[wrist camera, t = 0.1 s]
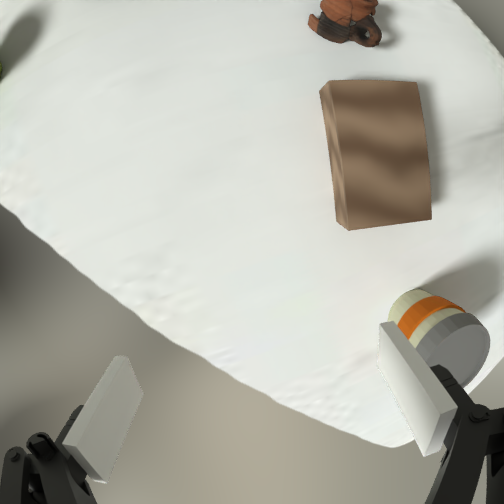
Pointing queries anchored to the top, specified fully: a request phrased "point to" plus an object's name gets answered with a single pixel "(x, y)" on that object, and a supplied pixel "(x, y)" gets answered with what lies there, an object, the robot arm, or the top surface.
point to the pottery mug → (347, 21)
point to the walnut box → (377, 152)
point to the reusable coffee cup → (442, 333)
